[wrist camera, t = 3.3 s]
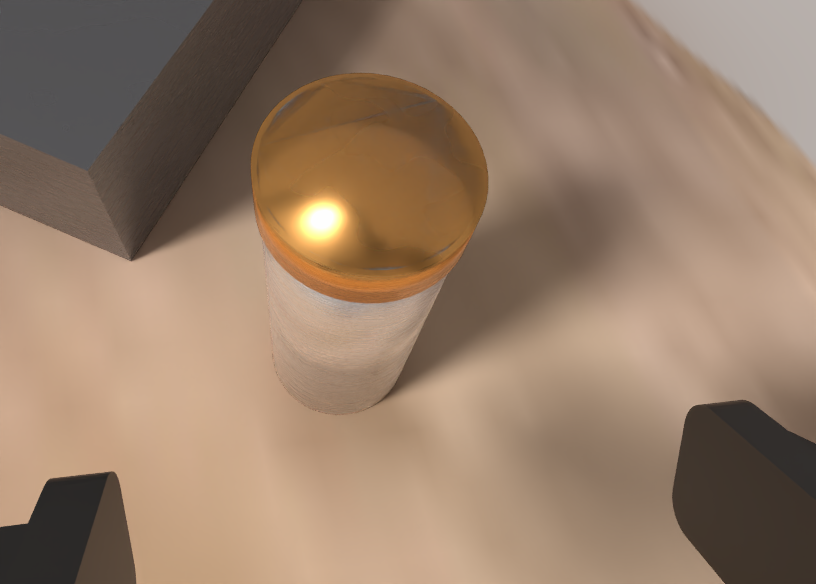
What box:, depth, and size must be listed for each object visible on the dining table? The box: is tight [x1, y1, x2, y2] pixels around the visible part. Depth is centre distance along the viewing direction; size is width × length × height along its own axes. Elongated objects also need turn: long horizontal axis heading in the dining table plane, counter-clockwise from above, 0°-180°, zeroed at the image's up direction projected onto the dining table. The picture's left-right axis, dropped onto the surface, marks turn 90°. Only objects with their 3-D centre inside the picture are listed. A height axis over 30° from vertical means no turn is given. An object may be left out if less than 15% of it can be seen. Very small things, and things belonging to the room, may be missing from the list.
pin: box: [251, 73, 488, 415], centre depth 17 cm, size 4×4×10 cm
